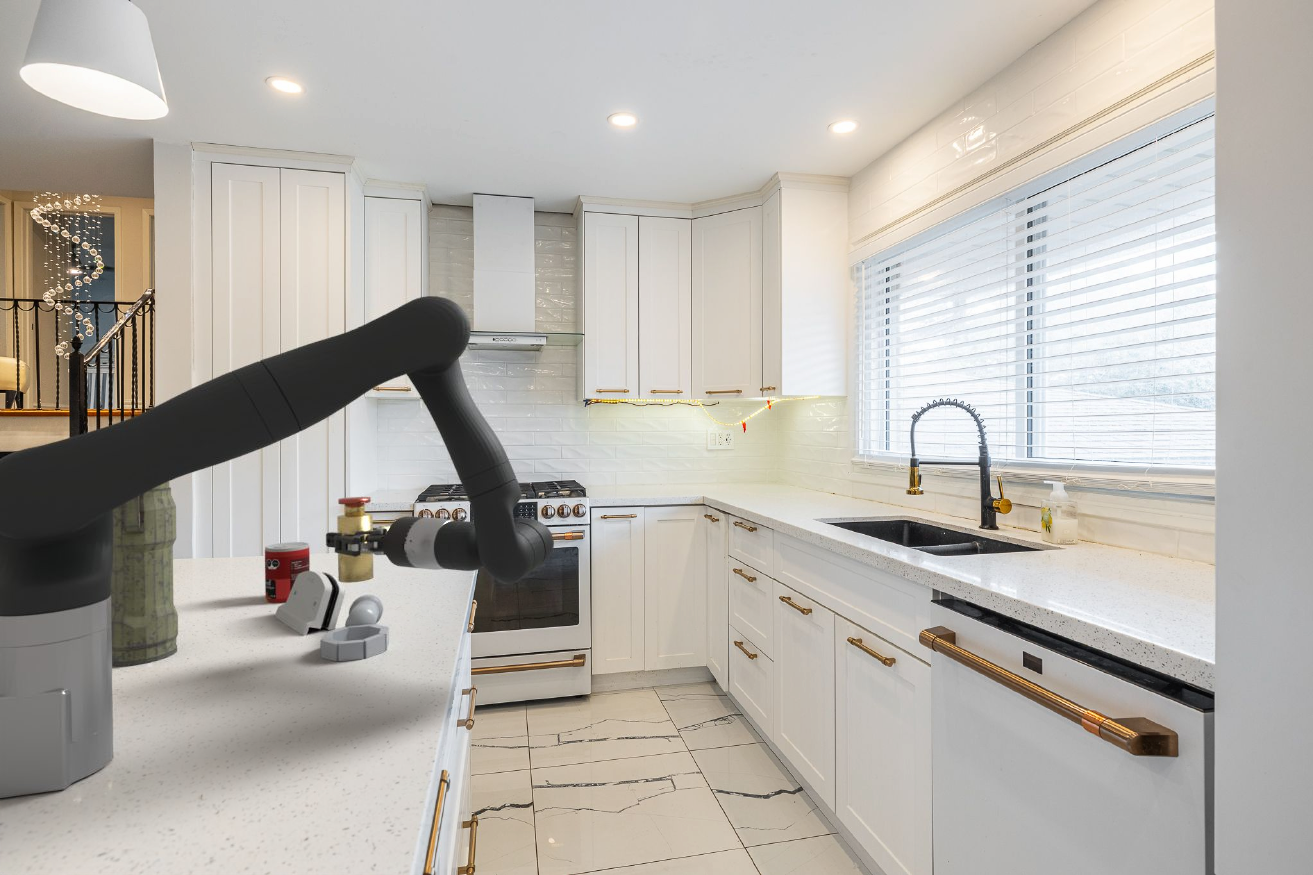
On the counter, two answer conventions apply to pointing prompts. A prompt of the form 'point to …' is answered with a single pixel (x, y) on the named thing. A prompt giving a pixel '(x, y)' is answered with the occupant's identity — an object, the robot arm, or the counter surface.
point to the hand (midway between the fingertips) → (343, 536)
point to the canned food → (284, 568)
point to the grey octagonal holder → (357, 633)
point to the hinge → (312, 602)
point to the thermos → (143, 579)
